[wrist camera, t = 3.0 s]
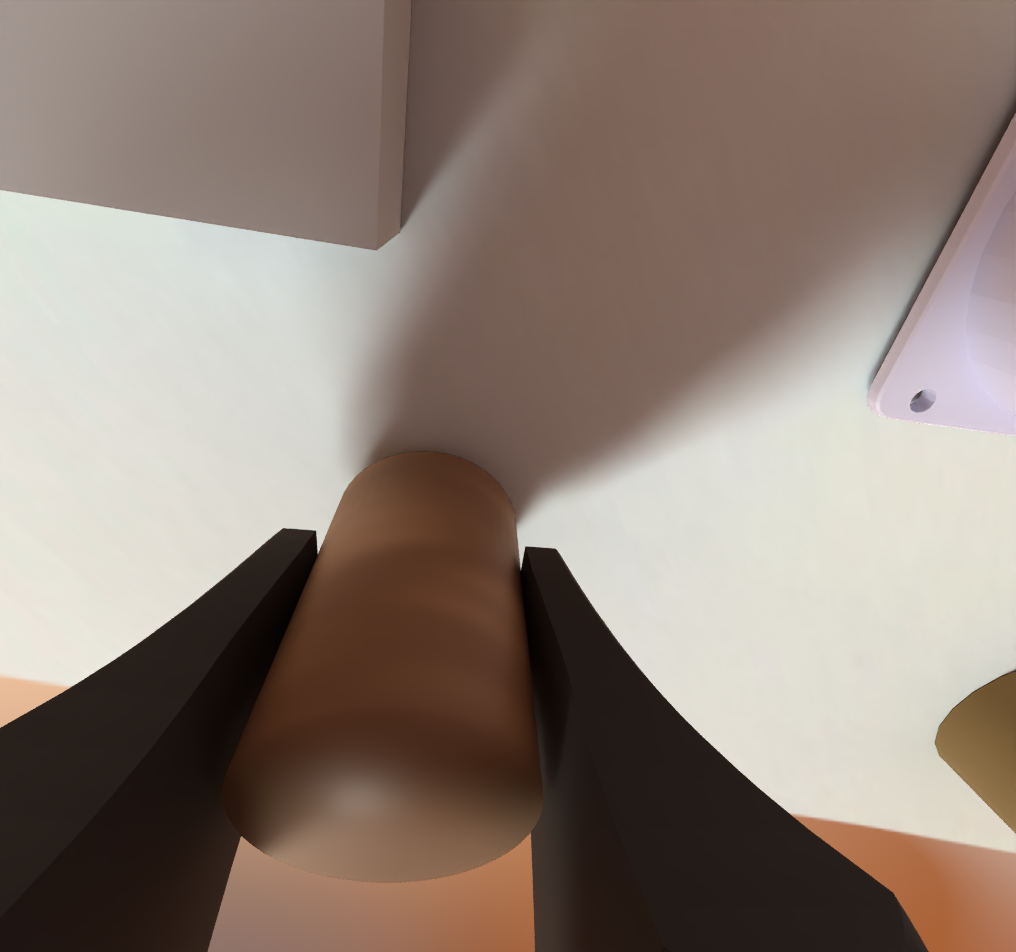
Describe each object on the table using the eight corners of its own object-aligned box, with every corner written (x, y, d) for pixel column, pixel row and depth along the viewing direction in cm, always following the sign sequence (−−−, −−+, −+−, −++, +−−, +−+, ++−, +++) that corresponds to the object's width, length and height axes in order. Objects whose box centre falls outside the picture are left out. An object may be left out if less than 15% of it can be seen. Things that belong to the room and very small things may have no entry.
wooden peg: (530, 463, 11) (574, 720, 6) (501, 601, 13) (515, 885, 8) (336, 440, 11) (199, 697, 5) (337, 587, 13) (238, 879, 7)
